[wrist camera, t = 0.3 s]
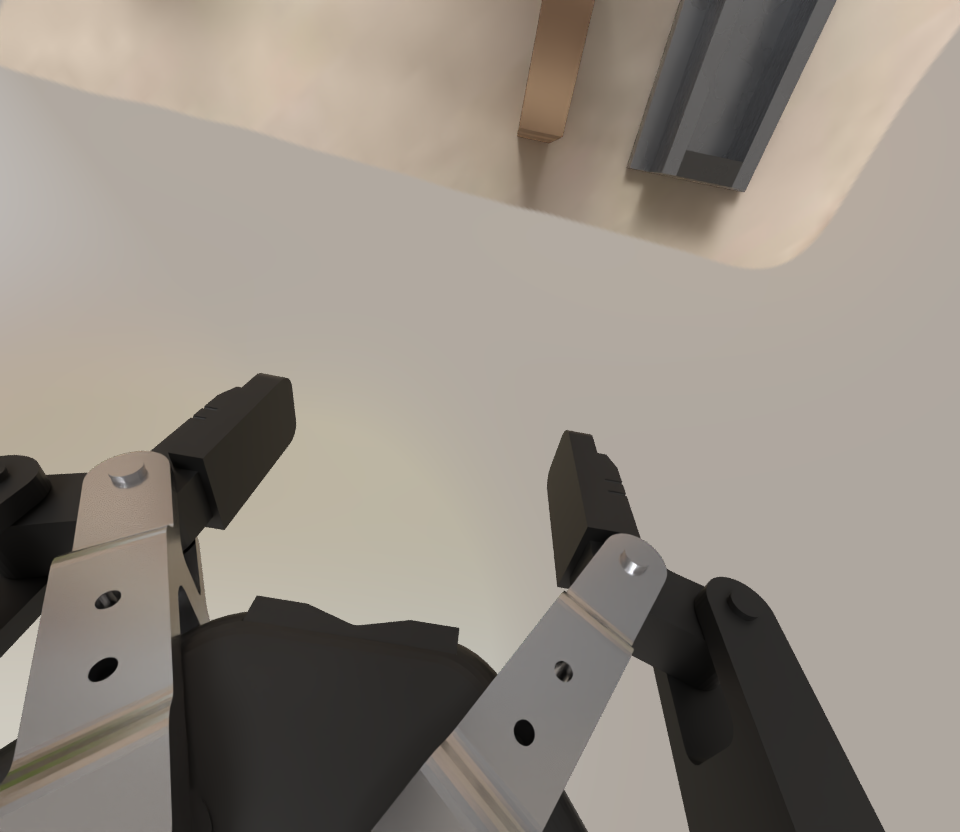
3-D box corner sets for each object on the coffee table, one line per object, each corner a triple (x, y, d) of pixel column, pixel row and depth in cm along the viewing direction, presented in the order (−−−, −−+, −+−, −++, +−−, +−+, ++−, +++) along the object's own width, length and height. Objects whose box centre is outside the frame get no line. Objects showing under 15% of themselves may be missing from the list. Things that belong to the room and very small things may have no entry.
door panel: (557, -85, 24) (580, -199, 16) (598, -75, 24) (638, -185, 16) (517, 136, 30) (519, 127, 22) (549, 142, 30) (562, 136, 22)
